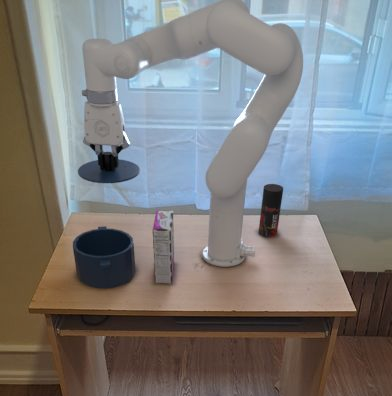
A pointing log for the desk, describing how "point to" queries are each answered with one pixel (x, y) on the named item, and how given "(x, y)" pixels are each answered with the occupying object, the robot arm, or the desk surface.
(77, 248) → the pot
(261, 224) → the deodorant
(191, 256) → the desk surface
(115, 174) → the pot lid
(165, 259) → the candy bar box
